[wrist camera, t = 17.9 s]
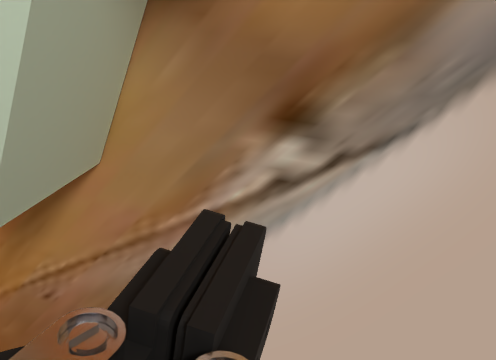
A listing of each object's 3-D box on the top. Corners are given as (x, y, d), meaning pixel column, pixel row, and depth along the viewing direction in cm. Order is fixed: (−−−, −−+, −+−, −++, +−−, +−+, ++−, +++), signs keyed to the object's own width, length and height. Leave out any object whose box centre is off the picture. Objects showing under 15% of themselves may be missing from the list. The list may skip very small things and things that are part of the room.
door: (151, -94, 23) (23, -152, 14) (172, -85, 23) (57, -137, 14) (83, 154, 30) (-37, 224, 21) (99, 163, 30) (-14, 235, 21)
